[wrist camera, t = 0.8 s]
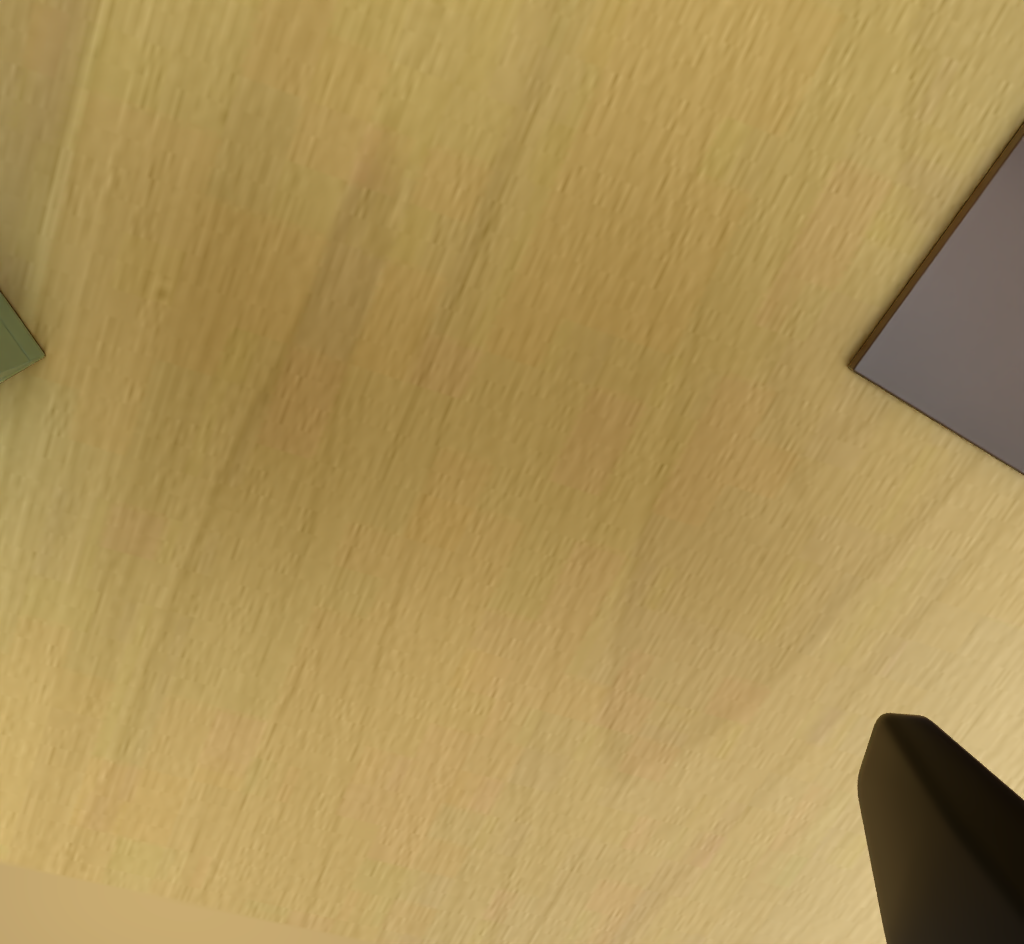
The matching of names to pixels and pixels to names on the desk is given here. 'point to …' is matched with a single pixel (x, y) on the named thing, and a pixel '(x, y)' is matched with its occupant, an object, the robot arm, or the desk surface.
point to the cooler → (15, 343)
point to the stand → (965, 321)
